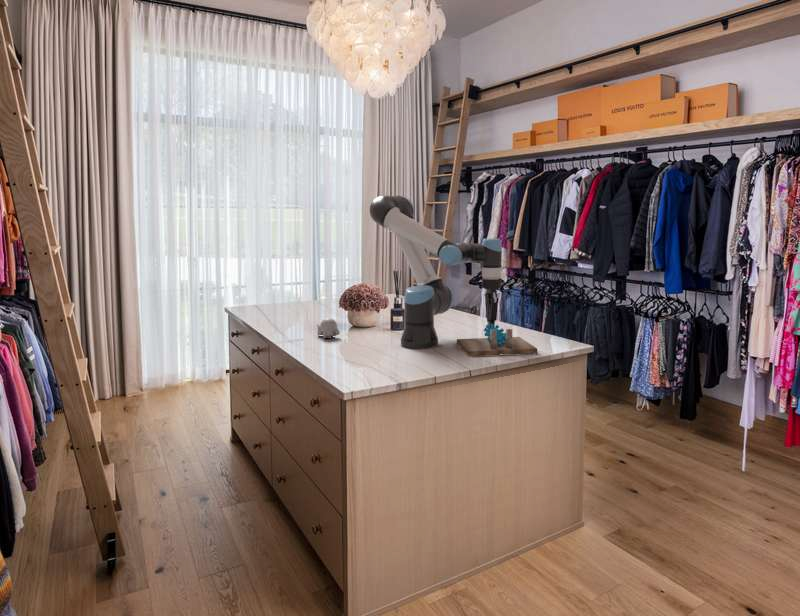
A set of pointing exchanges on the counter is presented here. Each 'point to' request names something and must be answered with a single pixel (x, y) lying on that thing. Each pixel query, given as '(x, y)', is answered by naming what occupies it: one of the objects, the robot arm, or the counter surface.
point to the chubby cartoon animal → (328, 328)
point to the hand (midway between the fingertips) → (490, 337)
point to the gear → (499, 334)
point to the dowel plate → (485, 347)
